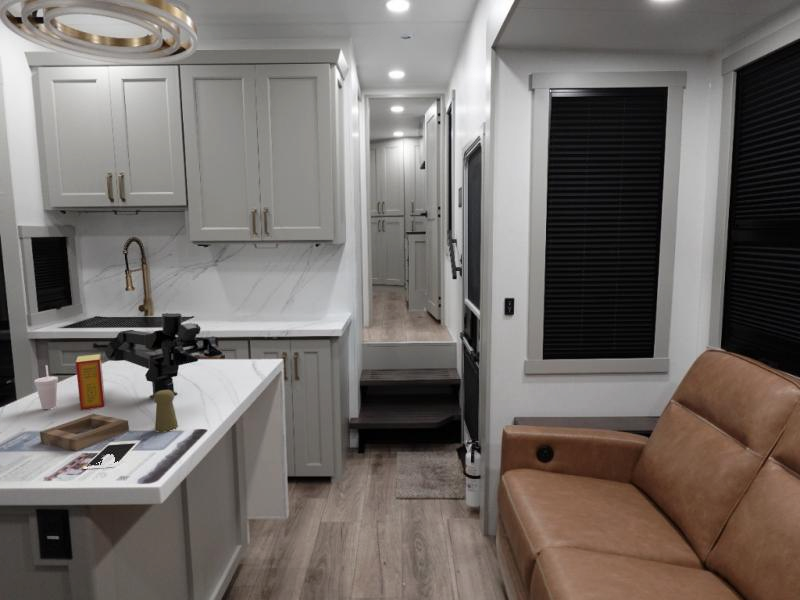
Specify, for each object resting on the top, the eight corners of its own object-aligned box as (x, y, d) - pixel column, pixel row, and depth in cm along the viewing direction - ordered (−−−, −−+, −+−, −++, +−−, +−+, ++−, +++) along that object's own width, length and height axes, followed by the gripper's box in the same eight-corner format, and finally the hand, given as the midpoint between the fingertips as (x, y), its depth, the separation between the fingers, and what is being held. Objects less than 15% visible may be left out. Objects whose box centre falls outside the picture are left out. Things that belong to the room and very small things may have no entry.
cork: (169, 433, 143) (166, 394, 142) (150, 431, 144) (146, 393, 143) (182, 425, 149) (179, 388, 148) (164, 423, 150) (161, 387, 149)
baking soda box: (82, 402, 172) (77, 355, 170) (104, 398, 175) (100, 352, 173) (80, 410, 164) (75, 361, 162) (104, 406, 167) (99, 358, 165)
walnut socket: (40, 442, 138) (39, 431, 138) (94, 423, 152) (93, 413, 151) (76, 451, 132) (75, 440, 132) (129, 430, 145) (128, 420, 145)
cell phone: (140, 442, 138) (140, 440, 138) (116, 469, 122) (116, 466, 122) (109, 444, 137) (109, 442, 137) (81, 471, 121) (81, 469, 121)
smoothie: (65, 406, 168) (61, 364, 166) (45, 412, 162) (40, 369, 160) (53, 403, 171) (48, 362, 169) (32, 409, 165) (27, 367, 163)
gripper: (151, 327, 160) (183, 337, 152) (201, 318, 176) (233, 326, 168) (151, 361, 162) (184, 372, 154) (201, 349, 178) (233, 359, 170)
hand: (209, 356), depth 161 cm, fingers open, 9 cm apart
